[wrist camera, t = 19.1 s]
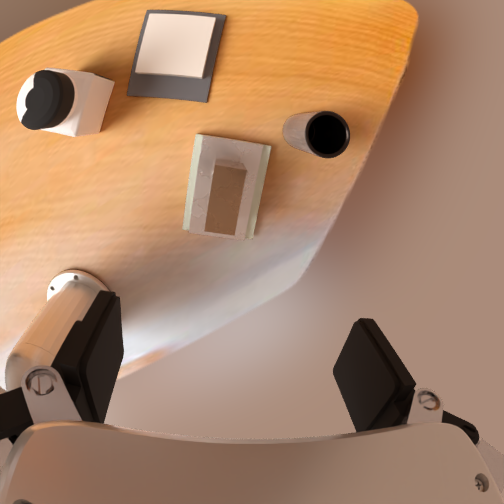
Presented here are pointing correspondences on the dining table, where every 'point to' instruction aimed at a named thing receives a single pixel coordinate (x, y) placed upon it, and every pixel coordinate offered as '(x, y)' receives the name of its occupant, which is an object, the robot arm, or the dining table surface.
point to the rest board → (257, 189)
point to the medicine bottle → (64, 101)
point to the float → (224, 187)
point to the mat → (173, 84)
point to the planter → (317, 133)
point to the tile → (175, 45)
